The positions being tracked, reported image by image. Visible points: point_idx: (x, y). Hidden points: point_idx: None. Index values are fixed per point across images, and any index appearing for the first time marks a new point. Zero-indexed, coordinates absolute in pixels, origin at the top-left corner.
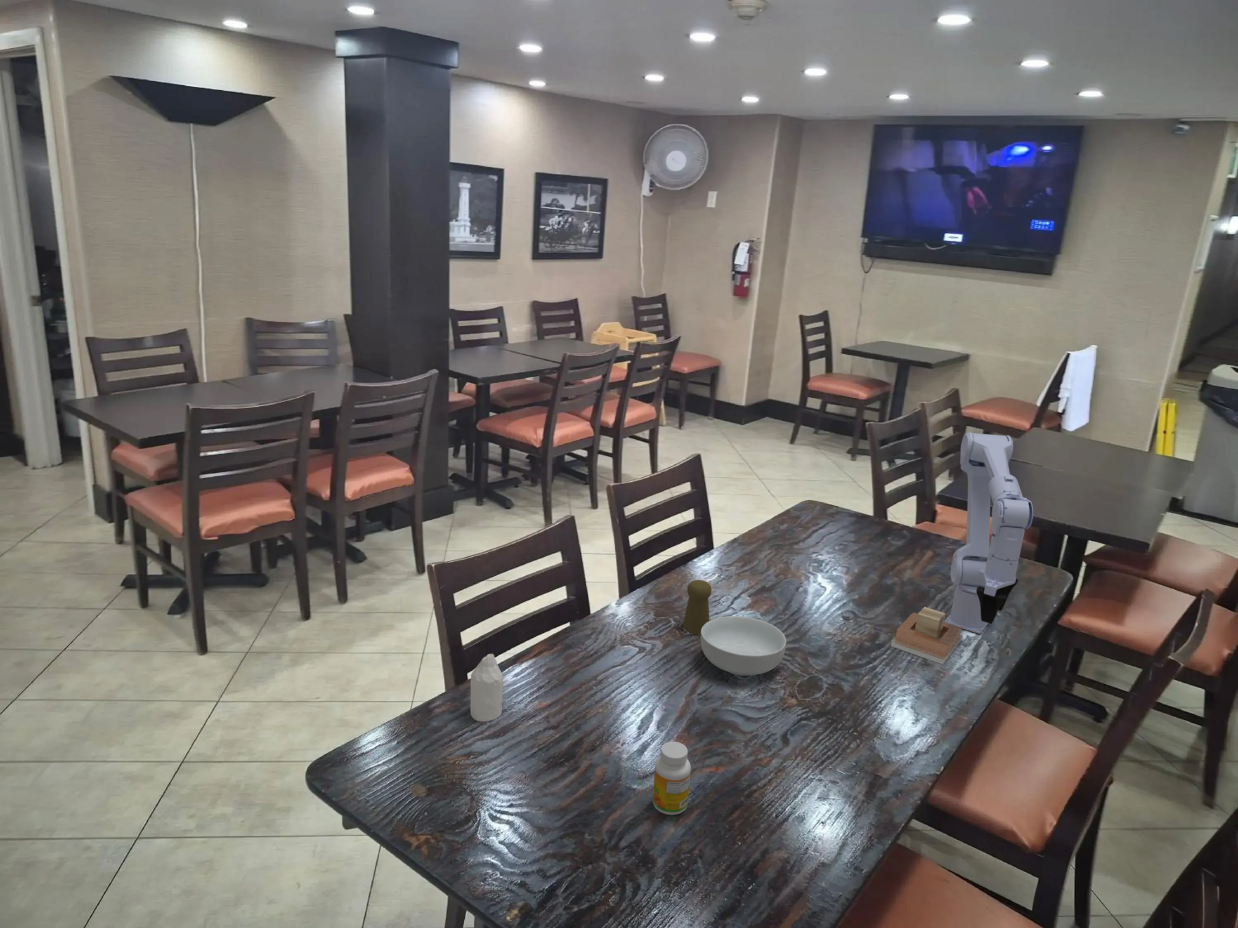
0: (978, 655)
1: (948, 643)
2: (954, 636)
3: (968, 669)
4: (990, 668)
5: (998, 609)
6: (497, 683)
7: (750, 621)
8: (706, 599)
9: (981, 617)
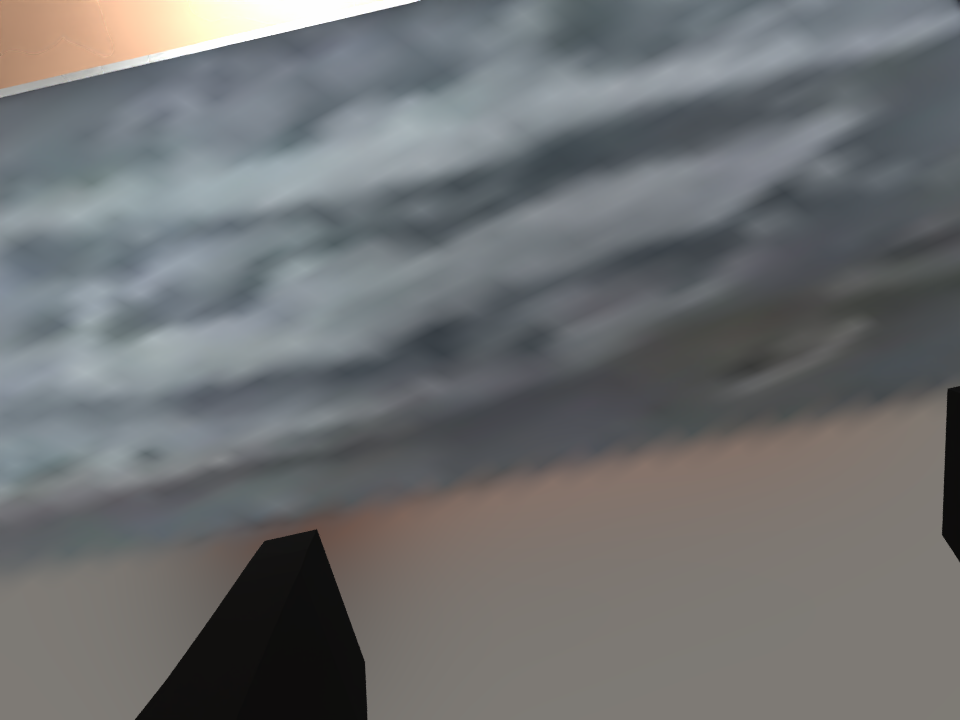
0: (483, 233)
1: (25, 78)
2: (297, 19)
3: (131, 311)
4: (343, 412)
5: (955, 508)
6: None
7: None
8: None
9: (240, 581)
